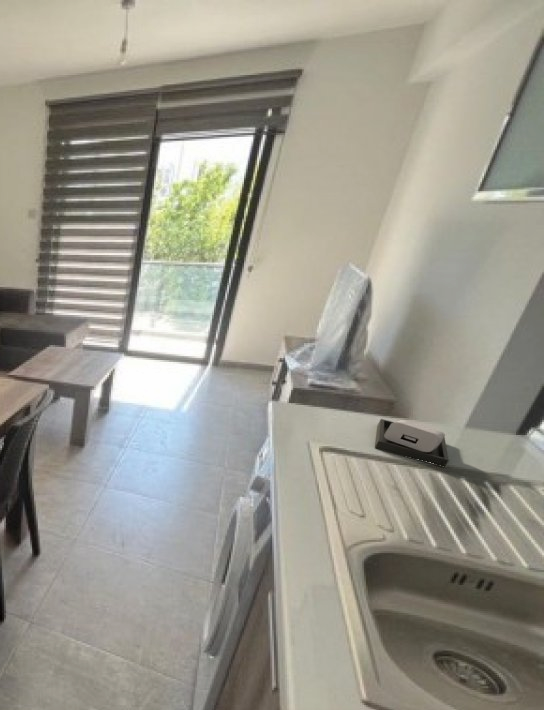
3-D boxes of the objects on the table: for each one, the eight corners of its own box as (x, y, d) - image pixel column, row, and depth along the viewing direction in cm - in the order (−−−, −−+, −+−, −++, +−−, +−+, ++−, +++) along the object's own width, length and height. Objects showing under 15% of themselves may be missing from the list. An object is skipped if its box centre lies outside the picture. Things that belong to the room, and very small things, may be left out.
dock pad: (439, 441, 125) (444, 434, 125) (444, 467, 113) (448, 460, 112) (377, 425, 133) (380, 418, 132) (374, 448, 120) (378, 441, 119)
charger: (439, 447, 123) (429, 454, 114) (395, 433, 129) (382, 438, 120) (450, 431, 121) (441, 435, 112) (405, 417, 127) (392, 420, 118)
